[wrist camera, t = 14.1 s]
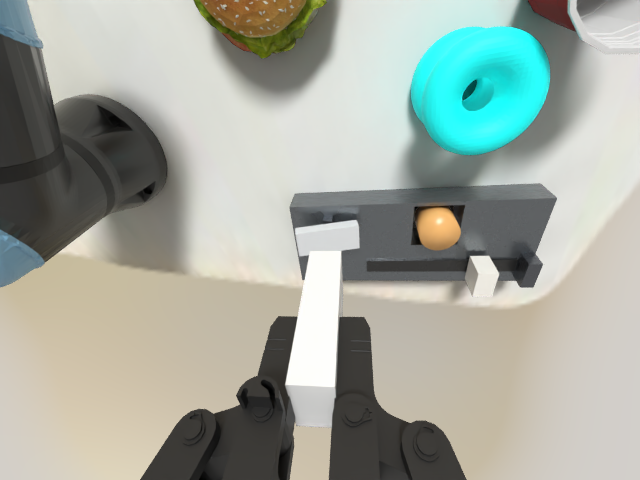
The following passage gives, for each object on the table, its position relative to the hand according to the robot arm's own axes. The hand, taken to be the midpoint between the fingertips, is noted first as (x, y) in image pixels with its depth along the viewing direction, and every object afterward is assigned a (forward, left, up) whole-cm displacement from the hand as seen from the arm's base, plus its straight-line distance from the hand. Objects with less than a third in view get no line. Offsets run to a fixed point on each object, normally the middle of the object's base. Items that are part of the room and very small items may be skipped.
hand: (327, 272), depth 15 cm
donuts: (+12, +4, -27) cm, 30 cm away
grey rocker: (-3, -12, -21) cm, 24 cm away
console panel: (+8, -15, -27) cm, 32 cm away
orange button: (+11, -12, -26) cm, 31 cm away
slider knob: (+17, -19, -22) cm, 34 cm away
